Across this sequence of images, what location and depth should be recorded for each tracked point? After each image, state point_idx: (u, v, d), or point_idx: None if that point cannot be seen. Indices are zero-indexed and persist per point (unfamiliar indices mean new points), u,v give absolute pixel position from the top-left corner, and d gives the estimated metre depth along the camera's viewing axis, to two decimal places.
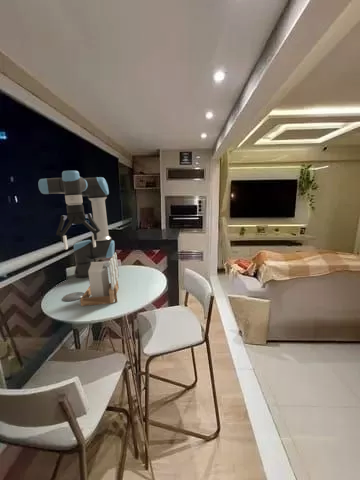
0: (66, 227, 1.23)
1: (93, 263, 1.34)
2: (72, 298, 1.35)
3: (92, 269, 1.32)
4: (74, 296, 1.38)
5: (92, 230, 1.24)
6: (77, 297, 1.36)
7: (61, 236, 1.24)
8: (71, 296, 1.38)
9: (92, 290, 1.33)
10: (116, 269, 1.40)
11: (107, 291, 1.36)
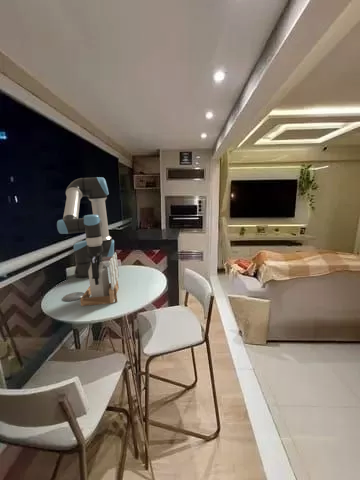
0: None
1: None
2: (72, 298, 1.35)
3: None
4: (74, 296, 1.38)
5: None
6: (77, 297, 1.36)
7: None
8: (71, 296, 1.38)
9: (92, 290, 1.33)
10: (116, 269, 1.40)
11: (107, 291, 1.36)
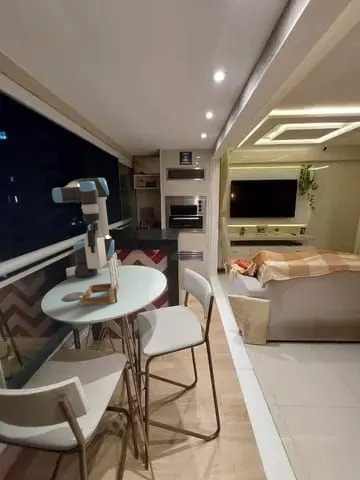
0: None
1: None
2: (72, 298, 1.35)
3: None
4: (74, 296, 1.38)
5: None
6: (77, 297, 1.36)
7: None
8: (71, 296, 1.38)
9: (88, 259, 1.30)
10: (116, 269, 1.40)
11: (103, 261, 1.33)
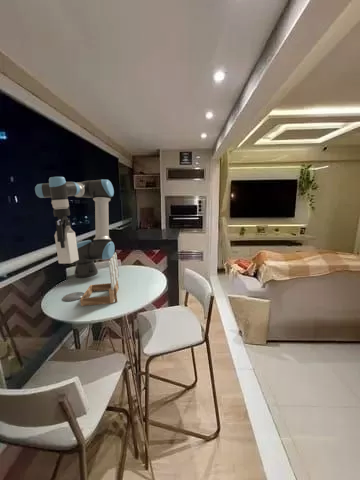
0: None
1: None
2: (72, 298, 1.35)
3: None
4: (74, 296, 1.38)
5: None
6: (77, 297, 1.36)
7: None
8: (71, 296, 1.38)
9: (59, 254, 1.31)
10: (116, 269, 1.40)
11: (75, 256, 1.34)
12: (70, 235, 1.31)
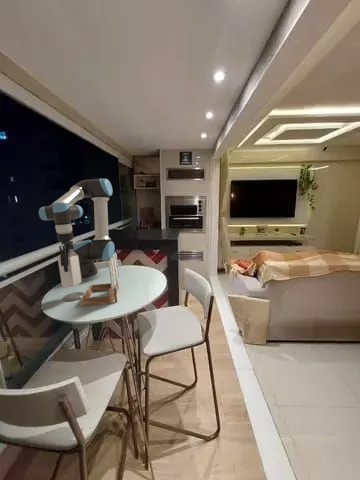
0: None
1: None
2: (72, 298, 1.35)
3: None
4: (74, 296, 1.38)
5: None
6: (77, 297, 1.36)
7: None
8: (71, 296, 1.38)
9: (62, 277, 1.33)
10: (116, 269, 1.40)
11: (78, 279, 1.36)
12: (73, 259, 1.33)
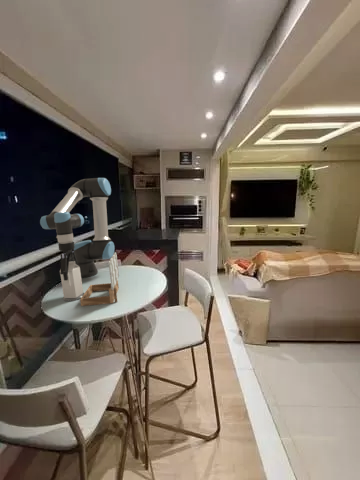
0: (69, 259, 1.39)
1: None
2: (72, 298, 1.35)
3: None
4: None
5: None
6: (77, 297, 1.36)
7: None
8: None
9: (64, 289, 1.35)
10: (116, 269, 1.40)
11: (79, 290, 1.38)
12: (75, 270, 1.35)
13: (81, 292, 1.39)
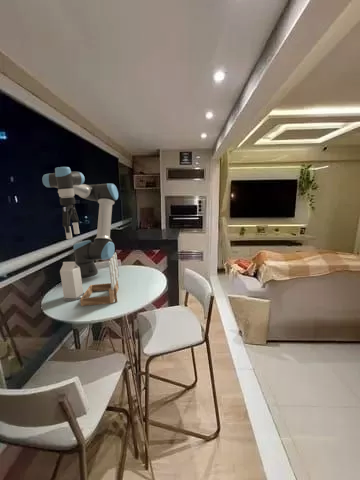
0: None
1: (65, 263, 1.35)
2: (72, 298, 1.35)
3: (64, 269, 1.33)
4: None
5: None
6: (77, 297, 1.36)
7: None
8: None
9: (64, 290, 1.34)
10: (116, 269, 1.40)
11: (79, 290, 1.38)
12: (75, 271, 1.34)
13: (81, 292, 1.39)
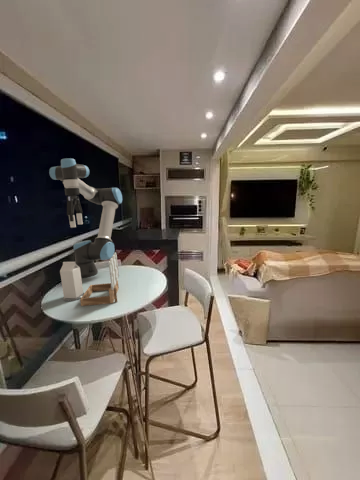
0: (74, 206, 1.49)
1: (65, 263, 1.35)
2: (72, 298, 1.35)
3: (64, 269, 1.33)
4: None
5: None
6: (77, 297, 1.36)
7: None
8: None
9: (64, 290, 1.34)
10: (116, 269, 1.40)
11: (79, 290, 1.38)
12: (75, 271, 1.34)
13: (81, 292, 1.39)
